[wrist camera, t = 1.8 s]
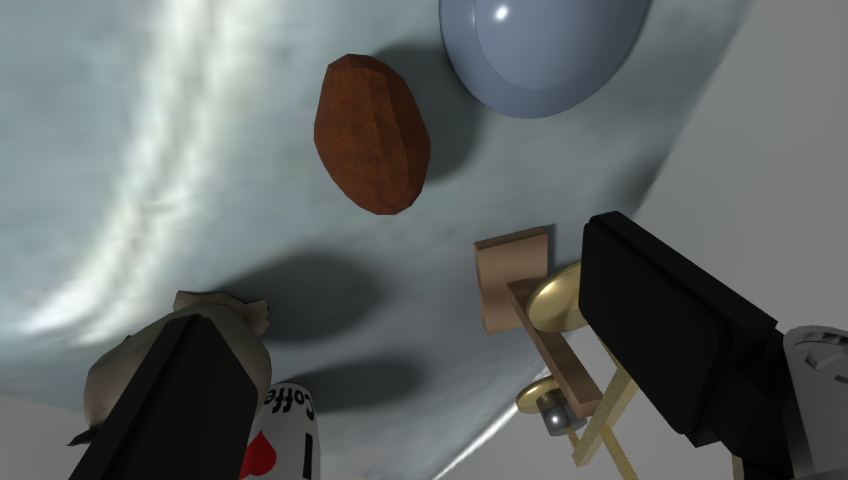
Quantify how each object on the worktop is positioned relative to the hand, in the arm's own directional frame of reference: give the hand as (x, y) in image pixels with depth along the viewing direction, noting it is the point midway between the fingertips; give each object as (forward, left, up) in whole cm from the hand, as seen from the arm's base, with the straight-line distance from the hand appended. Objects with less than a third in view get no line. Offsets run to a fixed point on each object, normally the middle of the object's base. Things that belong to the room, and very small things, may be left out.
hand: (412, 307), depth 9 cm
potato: (0, 0, -18) cm, 18 cm away
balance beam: (+15, +9, -9) cm, 19 cm away
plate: (-5, +12, -18) cm, 22 cm away
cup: (+24, -15, -18) cm, 34 cm away
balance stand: (+16, +9, -18) cm, 26 cm away
